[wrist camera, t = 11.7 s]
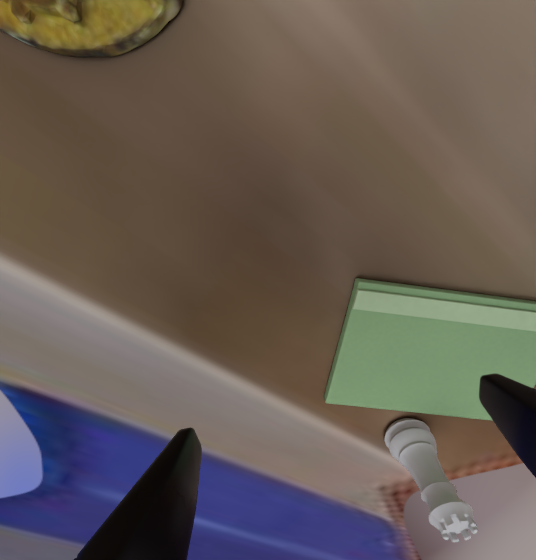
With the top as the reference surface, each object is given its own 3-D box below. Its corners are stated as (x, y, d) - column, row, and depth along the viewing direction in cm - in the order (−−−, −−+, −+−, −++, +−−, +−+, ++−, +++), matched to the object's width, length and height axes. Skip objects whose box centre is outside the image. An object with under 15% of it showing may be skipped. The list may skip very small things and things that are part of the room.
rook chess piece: (376, 444, 27) (418, 546, 19) (391, 412, 25) (443, 508, 18) (417, 450, 27) (474, 552, 20) (435, 418, 26) (504, 516, 18)
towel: (570, 305, 21) (586, 311, 20) (504, 415, 26) (515, 425, 25) (355, 277, 21) (360, 282, 20) (323, 396, 25) (326, 405, 24)
